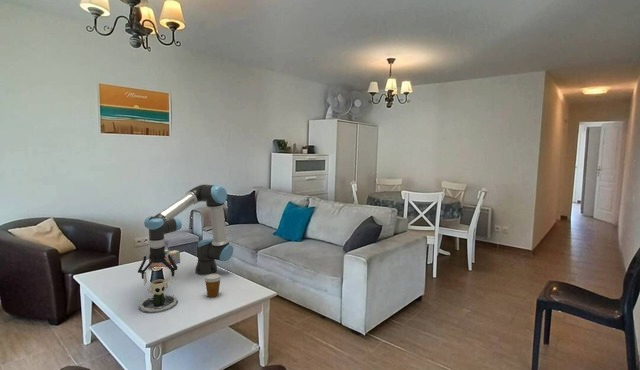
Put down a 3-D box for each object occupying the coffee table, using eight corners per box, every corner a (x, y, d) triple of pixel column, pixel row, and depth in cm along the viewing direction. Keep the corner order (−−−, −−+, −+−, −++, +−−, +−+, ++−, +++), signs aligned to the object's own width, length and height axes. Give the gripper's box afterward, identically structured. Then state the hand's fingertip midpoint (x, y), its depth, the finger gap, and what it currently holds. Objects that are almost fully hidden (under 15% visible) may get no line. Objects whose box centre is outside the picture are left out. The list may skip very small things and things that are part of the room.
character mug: (151, 308, 186) (150, 286, 185) (146, 304, 191) (145, 282, 189) (171, 302, 194) (170, 280, 193) (165, 298, 199) (165, 277, 197)
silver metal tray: (180, 295, 204) (180, 293, 204) (174, 311, 185) (174, 308, 185) (143, 298, 199) (143, 295, 199) (134, 314, 180) (134, 311, 180)
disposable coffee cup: (224, 293, 209) (224, 274, 208) (214, 299, 200) (214, 280, 199) (211, 291, 212) (211, 272, 211) (201, 297, 203) (201, 277, 202)
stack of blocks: (175, 261, 266) (175, 246, 265) (180, 263, 263) (179, 247, 261) (148, 269, 248) (148, 252, 247) (153, 270, 245) (153, 254, 244)
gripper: (182, 243, 195) (183, 278, 198) (134, 245, 189) (136, 282, 192) (180, 247, 188) (181, 283, 191) (130, 249, 182) (132, 287, 185)
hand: (158, 283), depth 191 cm, fingers open, 13 cm apart
